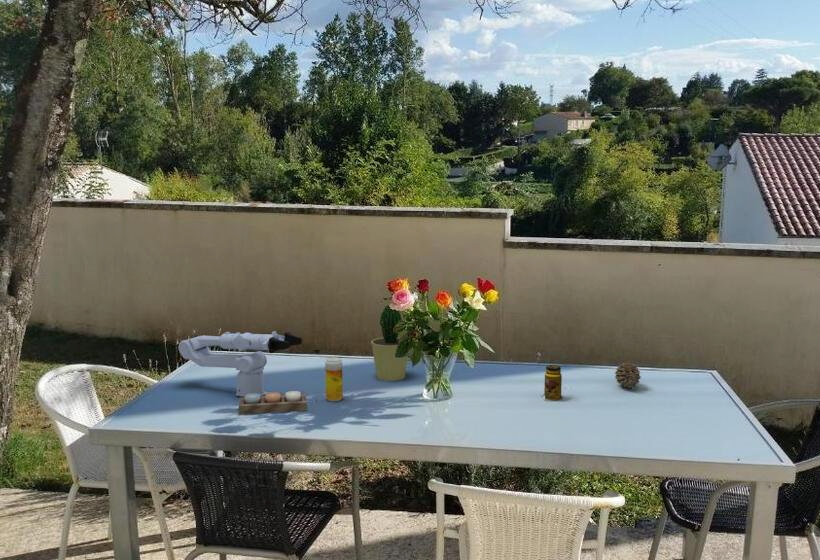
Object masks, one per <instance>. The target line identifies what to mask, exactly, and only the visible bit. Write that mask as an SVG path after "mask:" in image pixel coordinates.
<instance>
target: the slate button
mask: <svg viewBox="0 0 820 560" xmlns="http://www.w3.org/2000/svg"><path fill="white" fill-rule="evenodd" d="M256 403H260V394H258V393H250V394H246V395H245V404H256Z"/></svg>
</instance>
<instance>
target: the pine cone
mask: <svg viewBox="0 0 820 560" xmlns="http://www.w3.org/2000/svg"><path fill="white" fill-rule="evenodd" d="M615 370H616V371H614V375H615V376H614V378H615V380H616V383H618V385H621V386H620V387H624V388H625V387H626V388H628V389H629V388H632V387H633V388H635V387H636V386H638V384H639V383H640V379H642V376H641V375H640V374H641V370H639V367H638V365H635V363H633V364H632V363H630V362H629V363H628V362H622V363H621V364H619V366H617V367H616V369H615Z"/></svg>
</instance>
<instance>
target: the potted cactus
mask: <svg viewBox="0 0 820 560" xmlns="http://www.w3.org/2000/svg"><path fill="white" fill-rule="evenodd" d="M389 305H390V304H388V305H385V306H384V308H382V309H381V310H382V312H381V313H380V314H381V315H378V317H379V318H378V319H380V320H379V323H378V326H380V327H381V330H379V331H380V333H381V334H382V337H378V338H375V339H372V340H371V341H370V342H371V347H372V354H373V355H372V356H373V361H374V367H375V368H374V369H375V373H376V375H375V376H376V378H377V379H378V380H379V379H380V381H383V380H384V382H396V381H402V380H404V379H405V377H406V372H407V364H408V356H409V355H408V356H407V357H404V358H396V357H395V353H396V349H397V346H398V343H399V339H400V338H401V337H398V335H399V333H395V332H393V328H394V327H395V325H396V324H397V323H398V322H399V321H401V322H402V320H403V317H402V314H401V312H400V310H398V311H396V310H392V309H390V307H389Z"/></svg>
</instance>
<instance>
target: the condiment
mask: <svg viewBox="0 0 820 560" xmlns="http://www.w3.org/2000/svg"><path fill="white" fill-rule="evenodd" d="M561 370H562V367H561V366H560V365H557V364H550V365H549V364H548V365H546V367H545V373H544V393H542V394H543V395H541V398H543V396H545V400H544V401H545V402H557V401H558V402H560V401H561V402H562V401H565V398H564V397H563V396H562V380H563V379H562V377H563V375H562V373H561V372H562V371H561Z"/></svg>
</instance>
